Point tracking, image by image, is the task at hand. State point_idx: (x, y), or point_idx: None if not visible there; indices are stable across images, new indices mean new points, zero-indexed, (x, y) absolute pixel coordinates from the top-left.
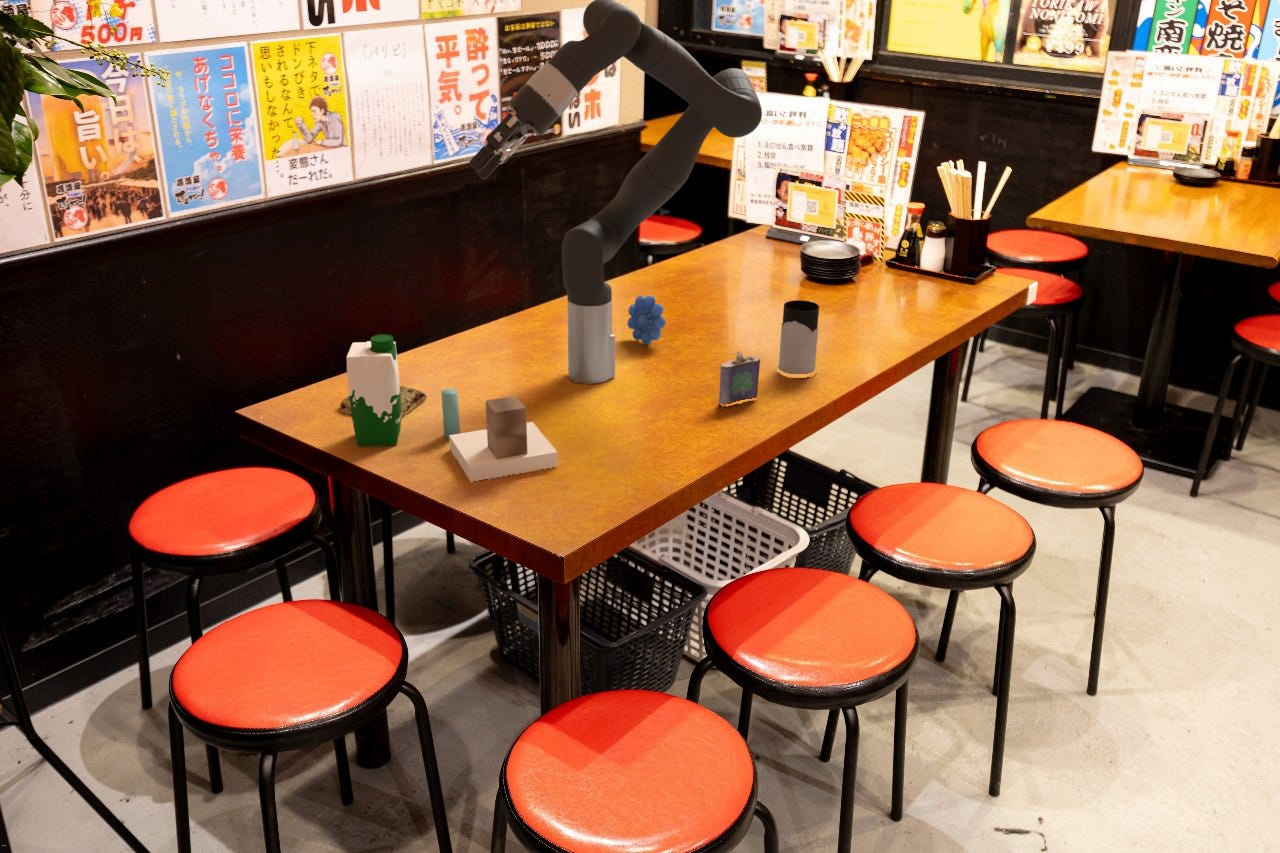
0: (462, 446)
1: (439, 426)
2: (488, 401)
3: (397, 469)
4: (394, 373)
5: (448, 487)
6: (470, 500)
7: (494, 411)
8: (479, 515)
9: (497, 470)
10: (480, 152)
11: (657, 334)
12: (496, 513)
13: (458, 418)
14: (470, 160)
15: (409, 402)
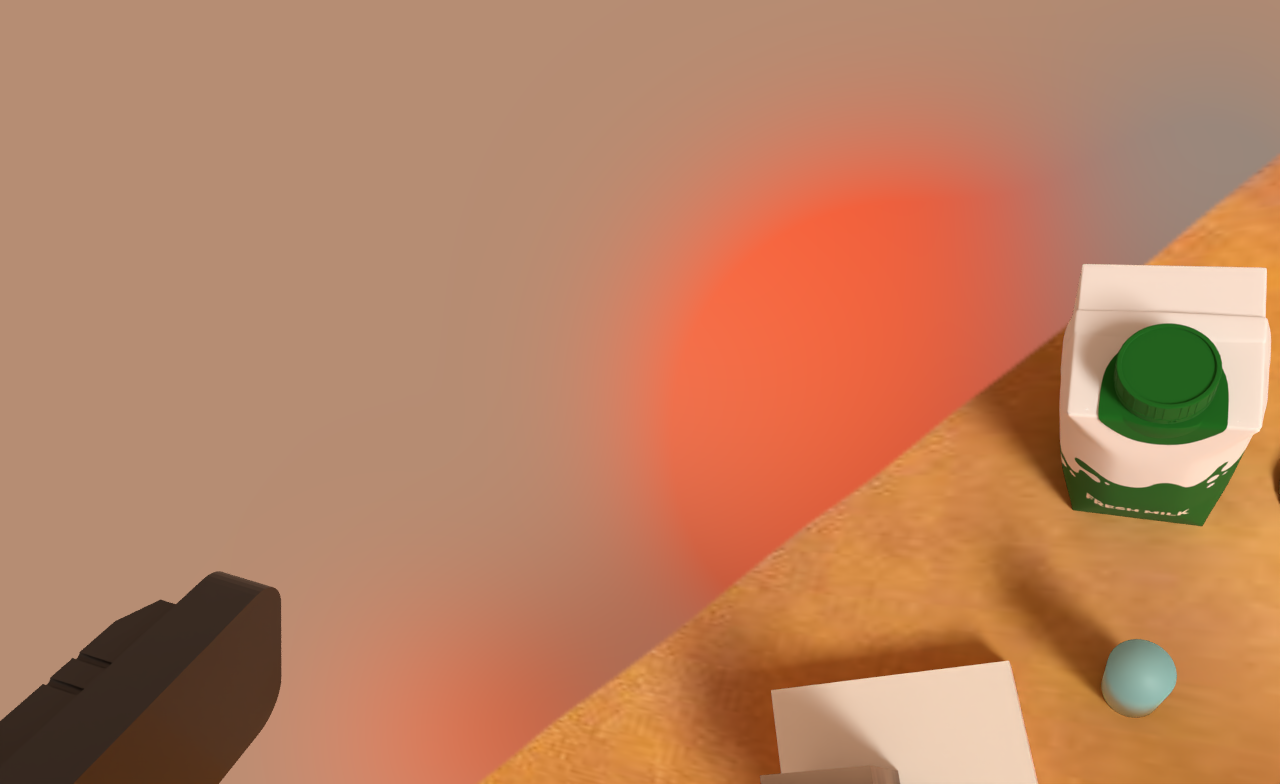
0: (914, 690)
1: (1221, 656)
2: (859, 773)
3: (907, 508)
4: (1102, 449)
5: (771, 631)
6: (690, 677)
7: (768, 775)
8: (614, 687)
9: None
10: (21, 711)
11: None
12: (611, 730)
13: (1122, 707)
14: (205, 579)
15: None
